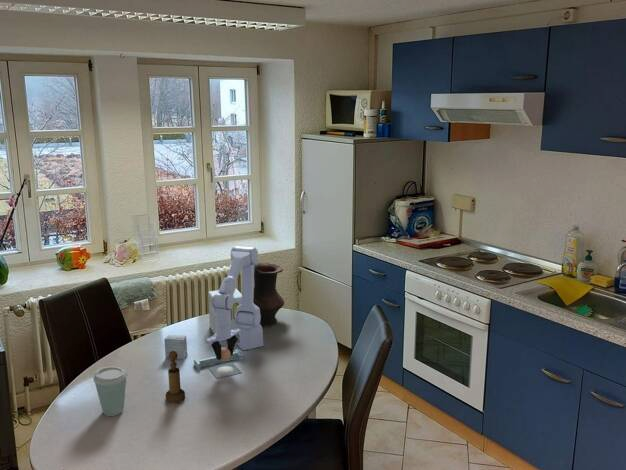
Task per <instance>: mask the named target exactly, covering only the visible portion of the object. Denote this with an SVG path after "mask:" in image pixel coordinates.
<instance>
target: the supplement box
mask: <svg viewBox="0 0 626 470" xmlns="http://www.w3.org/2000/svg"><path fill="white" fill-rule="evenodd" d="M218 291H219V289H218V290H210V291H208V314H209V317H208V318H209V328H210V329H211V331H212V332H213V335H215V334H216V315H215V313H214V308H213V306H212V300H213V296H214V295H215V294H217V293H218ZM233 296H234V298H233V305H232V307H231V330H235V329H239V327H238V324H236V322H235V314H236V308H237V307H238V306H239V305H241V304H242V292H240V291H239V290H238V289H237V288H236V289H235V292H234V294H233ZM239 330H240V329H239Z"/></svg>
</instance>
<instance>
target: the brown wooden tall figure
mask: <svg viewBox="0 0 626 470" xmlns="http://www.w3.org/2000/svg"><path fill="white" fill-rule="evenodd" d="M177 356H178V355H177V353H176V352H175V351H171V352H170V353H169V358H168V360H170V363H169V366H170V368H169V369H168V370H167V374H168V390H167V391H166V392H165V401H166V402H167V404H172V405H174V404H175V405H176V404H180V403H182V402H183V401H185V399H186V392H185V390H184V389H182V388H181V370H180V368H179V367H177V362H176V360H178V359H177Z"/></svg>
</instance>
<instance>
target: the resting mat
mask: <svg viewBox="0 0 626 470" xmlns="http://www.w3.org/2000/svg"><path fill="white" fill-rule="evenodd" d="M208 369H209V371H210V372H211V373H212V374H213V376H214V377H215V378H216V379H217V380H218V379H222V378H226V377H231V376H235V375H238V374H239V375H240V374H242V373H243V372H242V371H241V369H240V368H238V367H237V365H236V364H235V363H234V362H228V363H224V364H218V365H214V366H211V367H208Z"/></svg>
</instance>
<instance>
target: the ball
mask: <svg viewBox="0 0 626 470" xmlns="http://www.w3.org/2000/svg"><path fill="white" fill-rule="evenodd" d="M230 356H231V352H230V350H229V349H228V347H222V349H221V360H222V361H225V362H227V361H226V360H228V359H229V358H230Z"/></svg>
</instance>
